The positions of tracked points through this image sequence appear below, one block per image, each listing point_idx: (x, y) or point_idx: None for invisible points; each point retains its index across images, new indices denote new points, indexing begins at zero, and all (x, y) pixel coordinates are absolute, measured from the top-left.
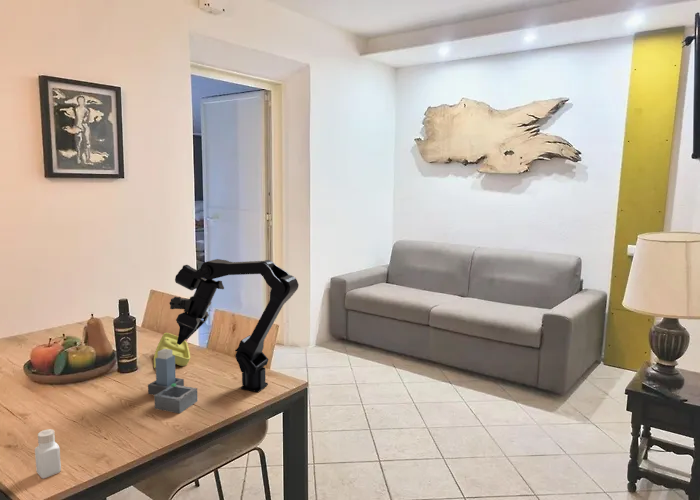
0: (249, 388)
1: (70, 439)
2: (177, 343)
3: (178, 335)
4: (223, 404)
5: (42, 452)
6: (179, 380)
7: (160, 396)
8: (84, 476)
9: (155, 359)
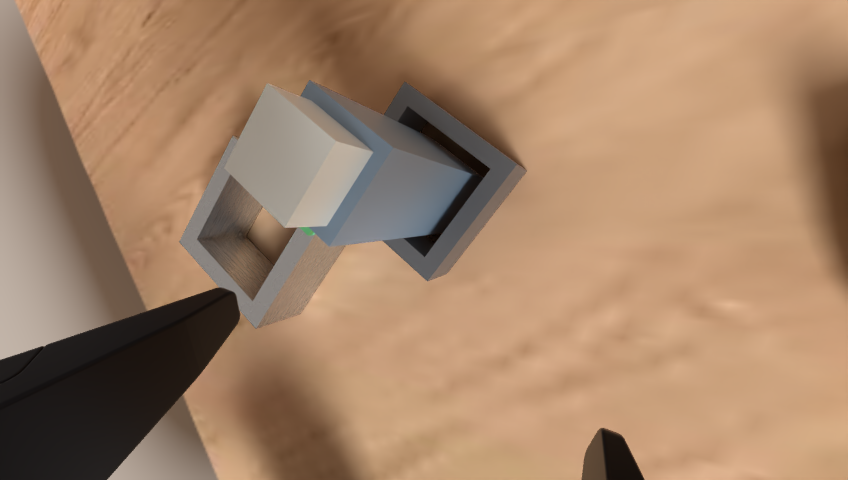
0: None
1: None
2: (222, 292)
3: (83, 332)
4: (255, 399)
5: None
6: (414, 256)
7: (219, 164)
8: (37, 23)
9: (316, 83)
